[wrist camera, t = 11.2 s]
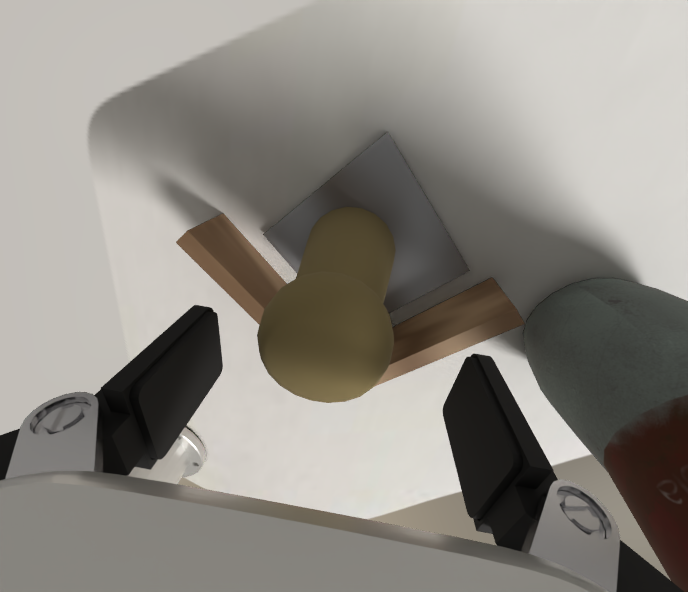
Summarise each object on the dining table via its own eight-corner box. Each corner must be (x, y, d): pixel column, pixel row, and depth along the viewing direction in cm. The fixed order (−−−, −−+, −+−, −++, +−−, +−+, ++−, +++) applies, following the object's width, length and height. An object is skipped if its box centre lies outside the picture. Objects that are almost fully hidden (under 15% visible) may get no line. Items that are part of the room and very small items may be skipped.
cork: (314, 292, 21) (255, 423, 11) (299, 210, 18) (205, 295, 8) (395, 290, 20) (407, 431, 10) (395, 203, 17) (410, 289, 7)
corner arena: (344, 364, 25) (337, 401, 21) (212, 223, 19) (175, 242, 16) (499, 290, 19) (524, 323, 16) (375, 68, 14) (372, 47, 11)
